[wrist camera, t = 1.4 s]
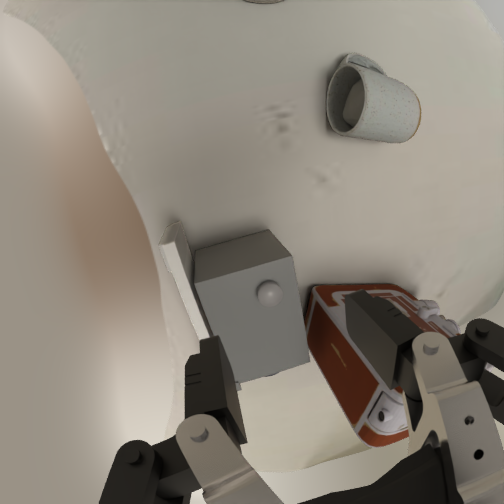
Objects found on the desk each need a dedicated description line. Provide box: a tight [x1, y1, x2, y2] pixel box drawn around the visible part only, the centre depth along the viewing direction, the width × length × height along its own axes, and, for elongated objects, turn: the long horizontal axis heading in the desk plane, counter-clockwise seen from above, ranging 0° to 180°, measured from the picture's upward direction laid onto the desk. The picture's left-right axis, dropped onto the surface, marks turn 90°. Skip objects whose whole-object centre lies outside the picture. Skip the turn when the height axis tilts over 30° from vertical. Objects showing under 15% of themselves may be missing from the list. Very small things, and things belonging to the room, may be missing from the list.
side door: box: [158, 221, 214, 340], centre depth 27 cm, size 17×2×7 cm, turn 13°
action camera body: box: [194, 230, 310, 391], centre depth 27 cm, size 14×10×9 cm
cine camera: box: [304, 284, 494, 448], centre depth 26 cm, size 9×19×20 cm, turn 84°
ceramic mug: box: [326, 53, 421, 143], centre depth 23 cm, size 11×8×8 cm
